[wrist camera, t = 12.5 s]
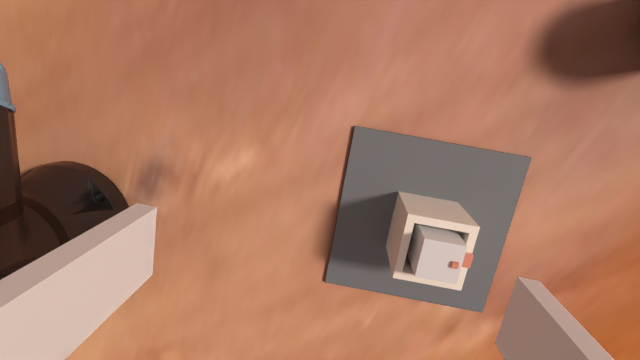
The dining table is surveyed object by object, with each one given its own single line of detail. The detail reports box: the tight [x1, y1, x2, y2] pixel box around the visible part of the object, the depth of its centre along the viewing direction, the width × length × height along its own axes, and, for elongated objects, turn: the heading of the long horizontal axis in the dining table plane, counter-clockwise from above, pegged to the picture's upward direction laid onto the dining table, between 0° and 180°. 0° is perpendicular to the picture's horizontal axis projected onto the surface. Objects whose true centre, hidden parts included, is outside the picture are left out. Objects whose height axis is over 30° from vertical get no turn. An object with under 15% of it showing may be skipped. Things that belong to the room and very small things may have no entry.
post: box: [325, 126, 531, 312], centre depth 41 cm, size 20×20×11 cm
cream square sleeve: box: [386, 191, 480, 291], centre depth 42 cm, size 7×7×8 cm
